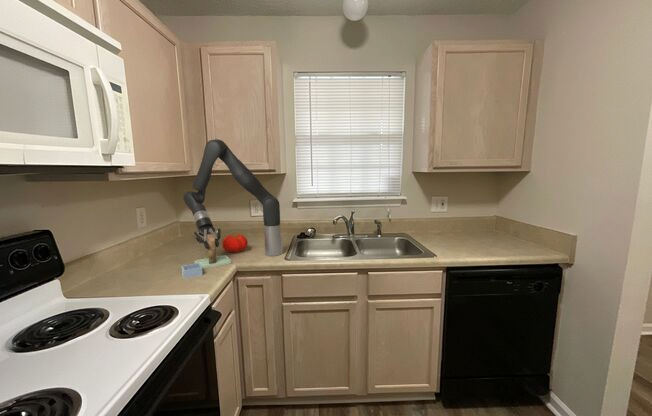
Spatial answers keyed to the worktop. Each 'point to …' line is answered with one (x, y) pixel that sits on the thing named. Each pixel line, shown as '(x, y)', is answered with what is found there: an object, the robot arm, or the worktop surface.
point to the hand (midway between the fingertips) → (213, 247)
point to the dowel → (211, 248)
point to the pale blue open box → (192, 270)
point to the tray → (219, 261)
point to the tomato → (234, 243)
